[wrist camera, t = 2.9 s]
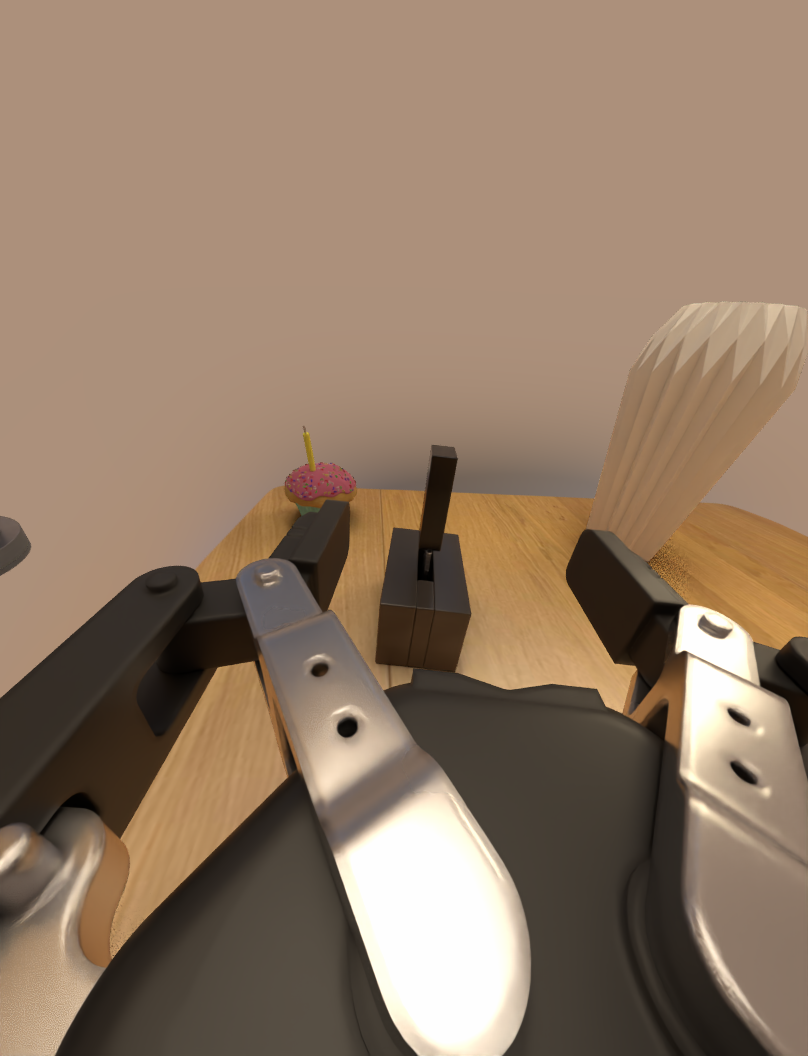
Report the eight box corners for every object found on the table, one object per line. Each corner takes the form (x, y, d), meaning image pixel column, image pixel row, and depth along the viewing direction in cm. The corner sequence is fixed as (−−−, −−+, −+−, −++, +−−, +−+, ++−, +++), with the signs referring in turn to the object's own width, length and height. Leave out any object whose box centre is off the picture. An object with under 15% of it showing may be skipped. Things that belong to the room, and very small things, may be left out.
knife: (406, 630, 27) (432, 456, 19) (408, 604, 30) (431, 443, 22) (425, 632, 27) (458, 459, 19) (425, 606, 30) (454, 445, 22)
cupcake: (319, 544, 36) (314, 438, 30) (272, 518, 40) (260, 420, 34) (369, 518, 43) (373, 426, 37) (324, 498, 47) (322, 412, 41)
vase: (551, 515, 49) (630, 307, 36) (640, 527, 48) (753, 320, 35) (585, 568, 37) (719, 290, 24) (702, 584, 37) (905, 310, 24)
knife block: (375, 663, 24) (379, 603, 21) (388, 577, 33) (393, 527, 30) (455, 672, 24) (471, 614, 21) (447, 584, 33) (458, 534, 30)
